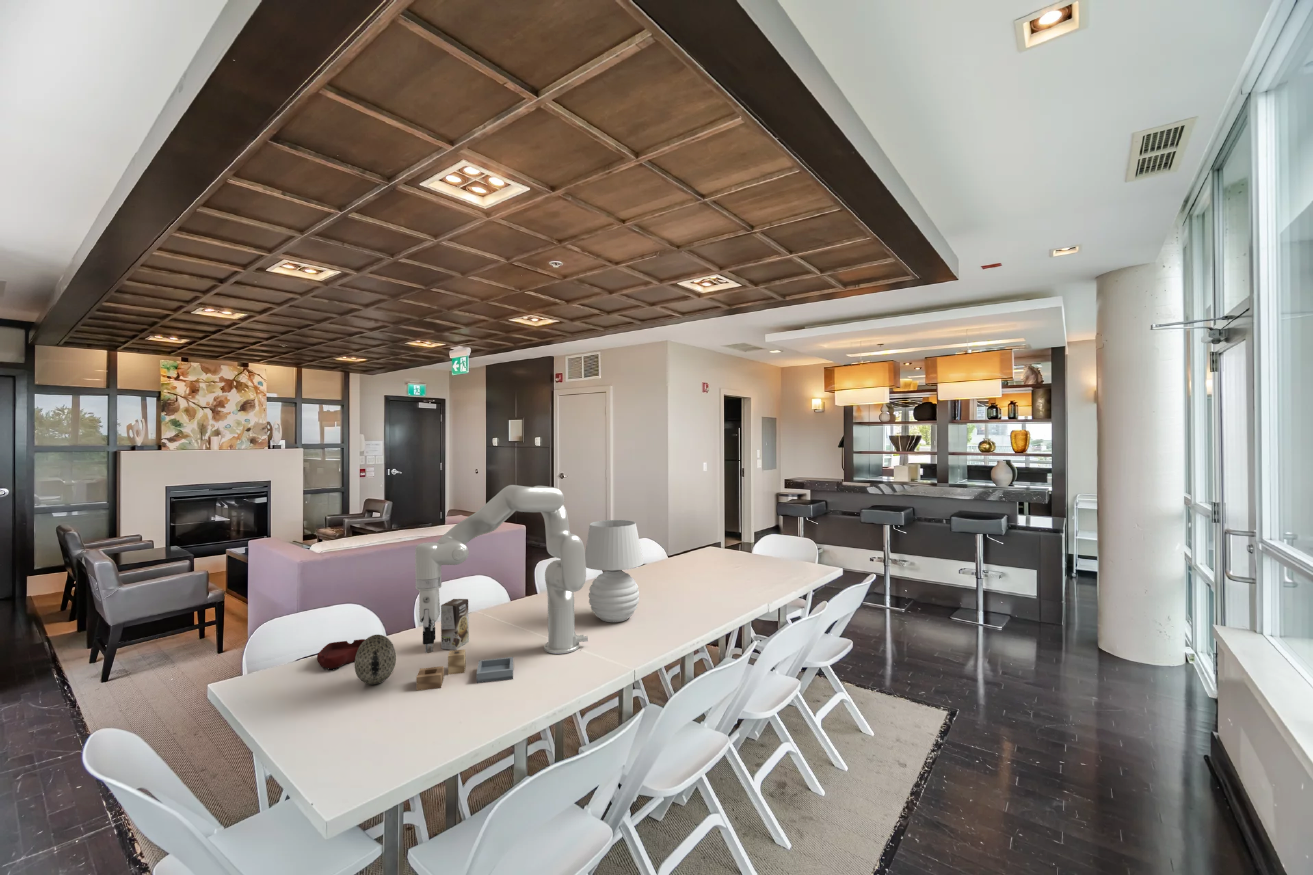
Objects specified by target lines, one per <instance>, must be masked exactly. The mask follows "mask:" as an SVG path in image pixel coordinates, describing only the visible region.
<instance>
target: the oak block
mask: <svg viewBox="0 0 1313 875" xmlns="http://www.w3.org/2000/svg"><path fill="white" fill-rule="evenodd" d="M466 659H467V658H466V649H465V648H464V649H457V650H449V651H448V654H447V674H448V675H457V674H465V672H466V668H467V667H466V666H467V665H466V664H467V663H466V662H467V661H466Z"/></svg>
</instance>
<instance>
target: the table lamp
mask: <svg viewBox="0 0 1313 875" xmlns="http://www.w3.org/2000/svg"><path fill="white" fill-rule="evenodd" d="M586 538H587V540H586V546H585V562H586V569H590V570H593V571H594V570H596V571H604V572H602V573H600V574H598V576H597V577H595V578H594V579H593V581H592V582H591V585H590V586H589V589H588V590H589V592H588V598H589V599H588V604H589V605H590V610H591V611H592V612H593V613H594V615H595V616H596V617H597V618H599V619H600V620H601V621H602V622H607V623H620V622H621V623H622V622H625V621H626V620H628V619H629V618H630V617H631V616H632V615H633V614H634V613H635V611H636V610H637V608H638V604H639V602H640V597H639V596H640V591H639V585H638V584H637V582H636V580H635V578H634V577H632V576H631V574H629V573H627V572H626V571H624V570H631V569H635V568H639V567H641V566H643V565H644V562H645V560H644V556H643V552H642V546H641V541H640V537H639V531H638V528H637V522H636V521H633V520H626V519H623V520H622V519H610V520H609V519H608V520H606V519H605V520H598V521H593V522H590V524H589V527H588V534H587V537H586Z"/></svg>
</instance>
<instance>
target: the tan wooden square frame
mask: <svg viewBox="0 0 1313 875" xmlns="http://www.w3.org/2000/svg"><path fill="white" fill-rule="evenodd" d="M417 672H418V673H417V675H416V680H415V681H416V682H415V684H416V691H418V692H419V691H425V690H434V689H442V686H443V682H444V679H445V678H444V677H445V674H444V672H445V669H444V665H440V666H433V667H422V668H419V670H418V671H417Z"/></svg>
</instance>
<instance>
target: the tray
mask: <svg viewBox="0 0 1313 875" xmlns="http://www.w3.org/2000/svg"><path fill="white" fill-rule="evenodd" d="M508 680H514V657H513V656H508V657H498V658H490V659H489V658H487V659H480V660H478V664H477V670H476V684H480V683H481V684H482V683H490V682H491V683H493V682H499V681H508Z"/></svg>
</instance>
